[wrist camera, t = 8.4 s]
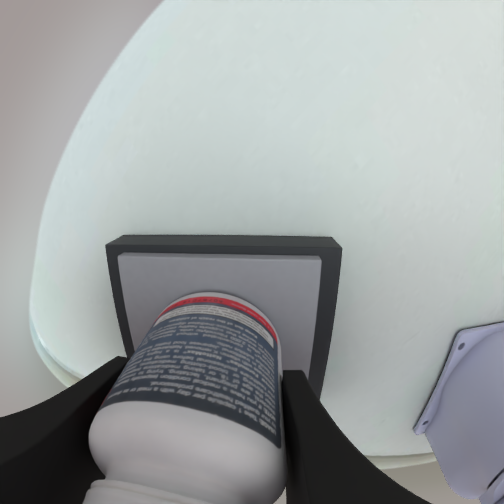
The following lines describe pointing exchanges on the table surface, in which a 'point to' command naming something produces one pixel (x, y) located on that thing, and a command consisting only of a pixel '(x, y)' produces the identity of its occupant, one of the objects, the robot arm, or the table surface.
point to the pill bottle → (195, 411)
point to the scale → (233, 286)
